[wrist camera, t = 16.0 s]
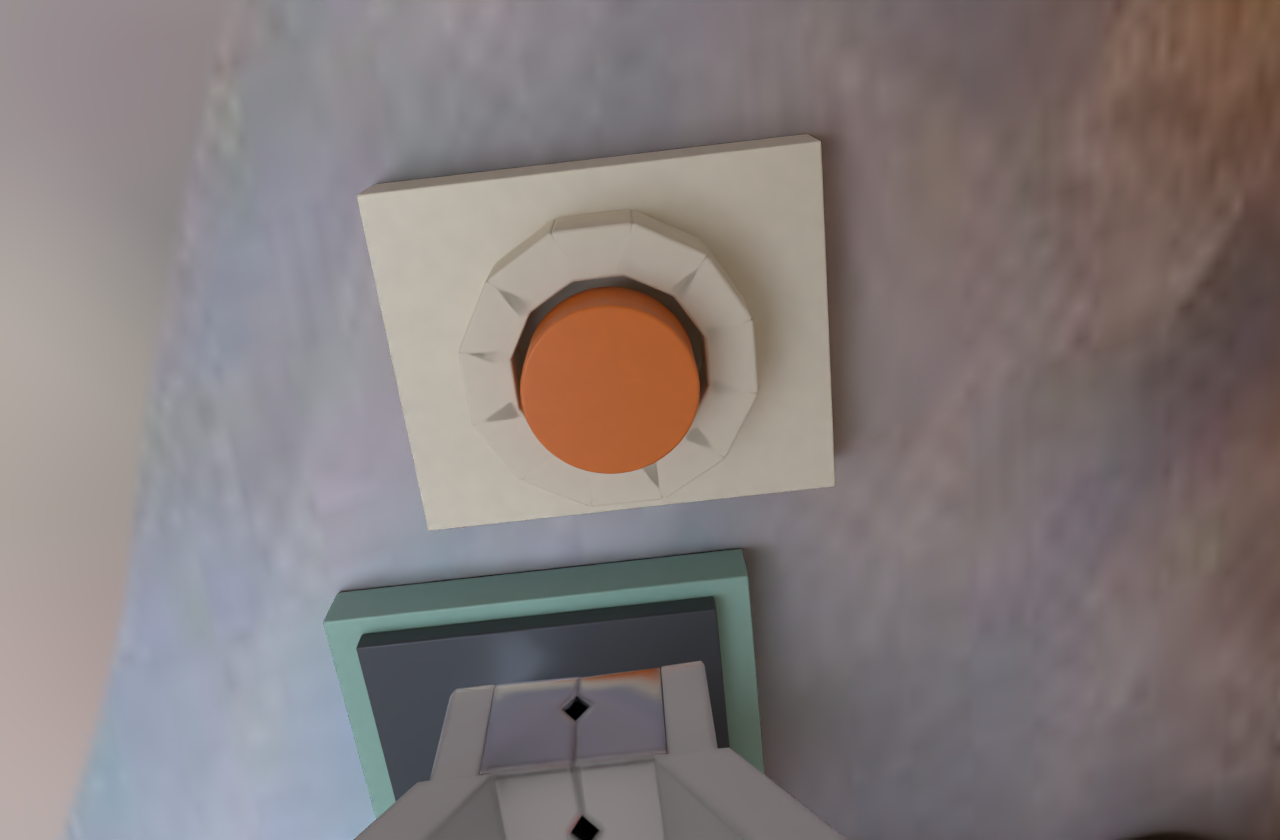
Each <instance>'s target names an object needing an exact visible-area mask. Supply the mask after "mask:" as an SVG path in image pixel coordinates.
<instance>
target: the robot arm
mask: <svg viewBox="0 0 1280 840" xmlns="http://www.w3.org/2000/svg"><path fill="white" fill-rule="evenodd" d="M661 674H662V678H661ZM354 840H847V839H846V838H845V837H844V836H842V835H841V834H840V833H838V832H837V831H836V830H835V829H833V828H832V827H831V826H830V825H828V824H827V823H826V822H824V821H823V820H822V819H821V818H819V817H818V816H817V815H815V814H814V813H813V812H812V811H810V810H809V809H808V808H807V807H805V806H804V805H803V804H801V803H800V802H799V801H798V800H796V799H795V798H794V797H792V796H791V795H790V794H789V793H787V792H786V791H785V790H784V789H782V788H781V787H780V786H778V785H777V784H776V783H775V782H773V781H772V780H771V779H769V778H768V777H767V776H766V775H764V774H763V773H762V772H761V771H759V770H758V769H757V768H755V767H754V766H753V765H752V764H750V763H749V762H748V761H746V760H745V759H744V758H743V757H741V756H740V755H739V754H738V753H736V752H735V751H734V750H732V749H731V748H719V749H718V747H717V741H716V735H715V728H714V722H713V716H712V710H711V703H710V697H709V691H708V684H707V678H706V672H705V665H704V664H703V662H702V661H695V662H688V663H682V664H675V665H668V666H661V671H660V668H653V669H645V670H637V671H629V672H621V673H613V674H605V675H598V676H590V677H582V678H579V677H571V678H560V679H549V680H538V681H527V682H516V683H505V684H498V685H497V686H496V685H485V686H476V687H467V688H458V689H455V691H454V692H453V693H452V694H451V695H450V698H449V702H448V707H447V711H446V715H445V719H444V723H443V727H442V731H441V735H440V740H439V744H438V748H437V752H436V756H435V760H434V764H433V768H432V772H431V777H430V781H422V782H417V783H416V784H415V785H414V786H413V787H411V788H410V789H409V790H408V791H407V792H406V793H405V794H404V795H403V796H401V797H400V798H399V799H398V800H397V801H396V802H395V803H394V804H393V805H391V806H390V807H389V808H388V809H387V810H386V811H385V812H384V813H383V814H382V815H380V816H379V817H378V818H377V819H376V820H375V821H374V822H373V823H372V824H370V825H369V826H368V827H367V828H366V829H365V830H364V831H363V832H362V833H360V834H359V835H358V836H357V837H356V838H355V839H354Z"/></svg>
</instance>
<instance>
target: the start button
mask: <svg viewBox="0 0 1280 840" xmlns="http://www.w3.org/2000/svg"><path fill="white" fill-rule="evenodd" d="M520 397H521V404H522V408H523V413H524V415H525V418H526V420H527V423H528V425H529V427H530V428H531V430H532V432H533V434H534V435H535V436H536V438H537V439H538V440H539V442H540V443H541V444H542V445H543V446H544V447H545V448H546V449H547V450H548V451H549V452H551V453H552V454H553V455H554V456H556V457H557V458H559V459H560V460H562V461H564V462H565V463H567V464H569V465H572V466H574V467H576V468H579V469H582V470H585V471H589V472H595V473H603V474H618V473H626V472H631V471H635V470H638V469H642V468H644V467H646V466H649V465H651V464H653V463H655V462H657V461H658V460H660V459H662V458H663V457H665V456H666V455H667V454H668V453H670V452H671V451H672V450H673V449H674V448H675V447H676V446H677V445H678V444H679V443H680V442H681V441H682V439H683V438H684V437H685V435H686V434H687V432H688V430H689V429H690V427H691V425H692V423H693V421H694V418H695V416H696V412H697V409H698V405H699V397H700V381H699V375H698V369H697V365H696V361H695V357H694V353H693V349H692V345H691V342H690V339H689V337H688V335H687V333H686V331H685V329H684V327H683V326H682V324H681V323H680V321H679V320H678V318H677V317H676V316H675V315H674V314H673V313H672V312H671V311H670V310H669V309H668V308H667V307H666V306H665V305H663V304H662V303H660V302H659V301H657V300H656V299H655V298H653V297H651V296H649V295H647V294H645V293H642V292H639V291H636V290H633V289H628V288H623V287H598V288H592V289H588V290H584V291H581V292H578V293H576V294H574V295H572V296H569V297H567V298H566V299H564V300H563V301H561V302H560V303H558V304H557V305H556V306H555V307H553V308H552V309H551V310H550V311H549V312H548V313H547V314H546V315H545V317H544V318H543V319H542V320H541V322H540V323H539V325H538V326H537V328H536V330H535V332H534V334H533V336H532V338H531V341H530V344H529V347H528V351H527V354H526V358H525V362H524V365H523V369H522V374H521V379H520Z"/></svg>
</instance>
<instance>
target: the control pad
mask: <svg viewBox="0 0 1280 840" xmlns="http://www.w3.org/2000/svg"><path fill="white" fill-rule="evenodd" d="M357 200H358V204H359V209H360V214H361V218H362V223H363V228H364V232H365V237H366V242H367V246H368V251H369V256H370V260H371V265H372V270H373V274H374V279H375V284H376V288H377V293H378V298H379V302H380V307H381V312H382V316H383V321H384V326H385V330H386V335H387V340H388V344H389V349H390V354H391V358H392V363H393V368H394V372H395V377H396V382H397V386H398V391H399V396H400V400H401V405H402V410H403V414H404V419H405V423H406V428H407V433H408V437H409V442H410V447H411V451H412V456H413V461H414V465H415V470H416V475H417V479H418V484H419V489H420V493H421V498H422V503H423V507H424V512H425V517H426V521H427V526H428V530H429V531H432V530H441V529H450V528H459V527H468V526H477V525H487V524H496V523H505V522H514V521H523V520H532V519H541V518H550V517H559V516H569V515H578V514H587V513H596V512H605V511H614V510H623V509H632V508H642V507H651V506H660V505H669V504H678V503H687V502H696V501H705V500H714V499H724V498H733V497H742V496H751V495H760V494H769V493H778V492H787V491H796V490H806V489H815V488H824V487H833V486H835V464H834V440H833V416H832V392H831V367H830V343H829V319H828V295H827V271H826V247H825V223H824V198H823V174H822V150H821V141H819V140H817V139H816V138H814V137H812V136H810V135H808V134H802V135H793V136H784V137H776V138H767V139H759V140H750V141H742V142H733V143H725V144H716V145H707V146H699V147H690V148H682V149H673V150H665V151H656V152H647V153H639V154H630V155H622V156H613V157H605V158H596V159H588V160H579V161H570V162H562V163H553V164H545V165H536V166H528V167H519V168H511V169H502V170H493V171H485V172H476V173H468V174H459V175H451V176H442V177H433V178H425V179H416V180H408V181H399V182H391V183H382V184H374V185H372V186H371V187H369V188H368V189H366V190H364V191H363V192H361V193H360V194H358V195H357ZM598 287H623V288H628V289H633V290H636V291H639V292H642V293H645V294H647V295H649V296H651V297H653V298H655V299H656V300H657V301H659V302H660V303H662V304H663V305H665V306H666V307H667V308H668V309H669V310H670V311H671V312H672V313H673V314H674V315H675V316H676V317H677V318H678V320H679V321H680V323H681V324H682V326H683V327H684V329H685V331H686V333H687V335H688V337H689V339H690V342H691V345H692V349H693V353H694V357H695V361H696V365H697V369H698V375H699V381H700V397H699V405H698V409H697V412H696V416H695V418H694V421H693V423H692V425H691V427H690V429H689V430H688V432H687V434H686V435H685V437H684V438H683V439H682V441H681V442H680V443H679V444H678V445H677V446H676V447H675V448H674V449H673V450H672V451H671V452H670V453H668V454H667V455H666V456H665V457H663V458H662V459H660V460H658V461H657V462H655V463H653V464H651V465H649V466H646V467H644V468H642V469H638V470H635V471H631V472H626V473H618V474H603V473H595V472H589V471H585V470H582V469H579V468H576V467H574V466H572V465H569V464H567V463H565V462H564V461H562V460H560V459H559V458H557V457H556V456H554V455H553V454H552V453H551V452H549V451H548V450H547V449H546V448H545V447H544V446H543V445H542V444H541V443H540V442H539V440H538V439H537V438H536V436H535V435H534V434H533V432H532V430H531V428H530V427H529V425H528V423H527V420H526V418H525V415H524V413H523V408H522V404H521V397H520V379H521V374H522V369H523V365H524V362H525V358H526V354H527V351H528V347H529V344H530V341H531V338H532V336H533V334H534V332H535V330H536V328H537V326H538V325H539V323H540V322H541V320H542V319H543V318H544V317H545V315H546V314H547V313H548V312H549V311H550V310H551V309H552V308H553V307H555V306H556V305H557V304H558V303H560V302H561V301H563V300H564V299H566V298H567V297H569V296H572V295H574V294H576V293H578V292H581V291H584V290H588V289H592V288H598Z"/></svg>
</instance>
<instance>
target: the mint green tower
mask: <svg viewBox="0 0 1280 840" xmlns="http://www.w3.org/2000/svg"><path fill="white" fill-rule="evenodd" d="M323 624H324V627H325V631H326V635H327V638H328V642H329V646H330V650H331V653H332V657H333V661H334V664H335V668H336V672H337V676H338V679H339V683H340V687H341V690H342V694H343V698H344V701H345V705H346V709H347V713H348V716H349V720H350V724H351V727H352V731H353V735H354V739H355V742H356V746H357V750H358V753H359V757H360V761H361V765H362V768H363V772H364V776H365V779H366V783H367V787H368V790H369V794H370V798H371V802H372V805H373V809H374V813H375V816H376V819H377V818H378V817H379V816H380V815H382V814H383V813H384V812H385V811H386V810H387V809H388V808H389V807H390V806H391V805H393V804H394V803H395V802H396V801H397V800H398V799H399V798H400V797H401V796H403V795H404V794H405V793H406V792H407V791H408V790H409V789H410V788H411V787H413V786H414V785H415V784H416V783H417V782H422V781H430V777H431V772H432V768H433V764H434V760H435V756H436V752H437V748H438V744H439V740H440V735H441V731H442V727H443V723H444V719H445V715H446V711H447V707H448V702H449V698H450V695H451V694H452V693H453V692H454V691H455V689H458V688H467V687H476V686H485V685H496V686H497V685H498V684H505V683H516V682H527V681H538V680H549V679H560V678H571V677H579V678H582V677H590V676H598V675H605V674H613V673H621V672H629V671H637V670H645V669H653V668H660V671H661V666H668V665H675V664H682V663H688V662H695V661H702V662H703V664H704V665H705V672H706V678H707V684H708V691H709V697H710V703H711V710H712V716H713V722H714V728H715V735H716V741H717V747H718V749H719V748H731V749H732V750H734V751H735V752H736V753H738V754H739V755H740V756H741V757H743V758H744V759H745V760H746V761H748V762H749V763H750V764H752V765H753V766H754V767H755V768H757V769H758V770H759V771H761V772H762V773H763V774H764V763H763V751H762V738H761V726H760V714H759V701H758V689H757V676H756V664H755V652H754V639H753V627H752V614H751V602H750V589H749V577H748V573H747V569H746V565H745V560H744V556H743V552H742V550H741V549H736V550H726V551H717V552H708V553H699V554H690V555H680V556H671V557H662V558H653V559H644V560H634V561H625V562H616V563H607V564H598V565H588V566H579V567H570V568H561V569H552V570H542V571H533V572H524V573H515V574H506V575H496V576H487V577H478V578H469V579H460V580H450V581H441V582H432V583H423V584H414V585H404V586H395V587H386V588H377V589H368V590H358V591H349V592H340V593H337V595H336V597H335V599H334V601H333V603H332V605H331V607H330V609H329V611H328V613H327V615H326V618H325V620H324V622H323ZM661 678H662V674H661Z"/></svg>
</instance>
